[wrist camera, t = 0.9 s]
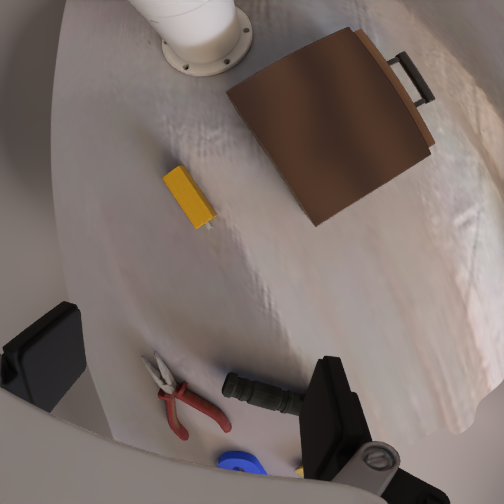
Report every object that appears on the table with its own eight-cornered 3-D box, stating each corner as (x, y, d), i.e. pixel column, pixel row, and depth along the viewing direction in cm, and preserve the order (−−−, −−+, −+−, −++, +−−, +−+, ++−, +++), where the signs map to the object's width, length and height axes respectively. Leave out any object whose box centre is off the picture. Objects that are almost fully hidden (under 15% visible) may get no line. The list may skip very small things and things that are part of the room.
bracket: (277, 488, 56) (276, 518, 47) (243, 492, 57) (241, 521, 48) (250, 448, 52) (247, 483, 43) (212, 453, 53) (205, 486, 45)
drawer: (373, 39, 32) (392, 16, 25) (433, 131, 35) (462, 126, 28) (256, 100, 36) (252, 84, 28) (322, 200, 39) (334, 206, 31)
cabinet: (332, 55, 34) (348, 26, 25) (398, 156, 37) (431, 154, 28) (235, 109, 37) (225, 91, 28) (305, 214, 40) (315, 227, 31)
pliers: (178, 340, 46) (173, 349, 44) (235, 424, 50) (233, 434, 48) (125, 358, 48) (119, 366, 46) (183, 434, 52) (181, 443, 50)
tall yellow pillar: (167, 177, 40) (161, 178, 38) (184, 165, 39) (178, 165, 37) (204, 232, 42) (200, 235, 39) (221, 220, 41) (218, 223, 39)
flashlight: (332, 414, 49) (336, 433, 44) (222, 384, 48) (218, 403, 43) (346, 395, 47) (351, 414, 43) (232, 362, 47) (228, 381, 42)
